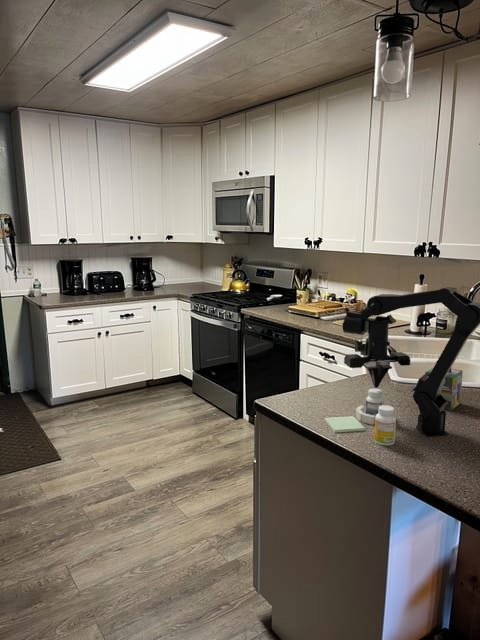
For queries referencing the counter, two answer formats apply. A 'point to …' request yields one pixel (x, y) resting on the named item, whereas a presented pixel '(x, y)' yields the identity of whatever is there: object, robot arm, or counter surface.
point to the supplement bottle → (385, 426)
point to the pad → (344, 424)
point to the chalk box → (451, 387)
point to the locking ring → (364, 416)
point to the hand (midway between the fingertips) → (375, 387)
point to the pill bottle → (374, 401)
